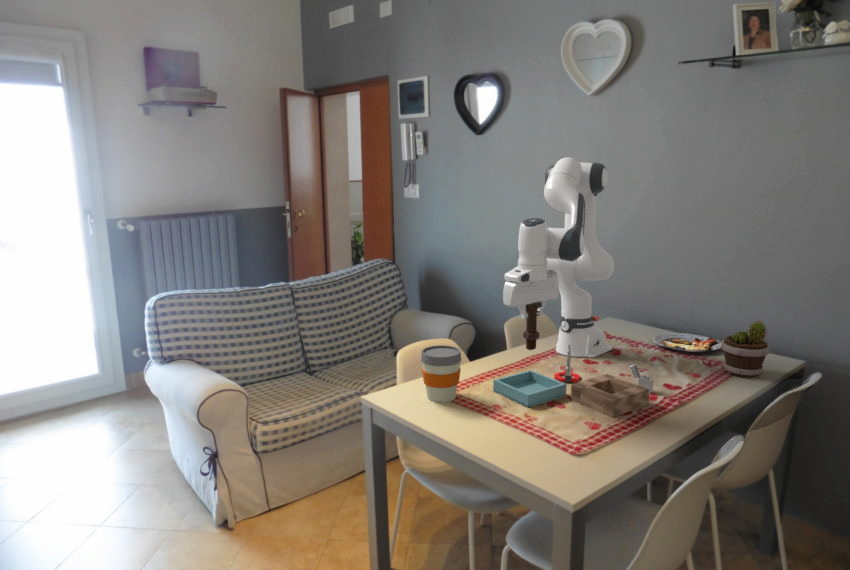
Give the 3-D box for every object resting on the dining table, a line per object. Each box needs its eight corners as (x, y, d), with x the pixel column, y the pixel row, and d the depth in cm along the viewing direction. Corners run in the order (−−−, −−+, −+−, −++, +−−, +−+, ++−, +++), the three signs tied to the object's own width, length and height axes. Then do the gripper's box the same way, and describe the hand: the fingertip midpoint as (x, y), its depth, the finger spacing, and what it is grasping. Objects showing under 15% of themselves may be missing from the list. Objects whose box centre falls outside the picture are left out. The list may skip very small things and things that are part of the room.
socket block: (606, 388, 195) (606, 374, 194) (648, 404, 182) (649, 388, 181) (570, 399, 186) (571, 384, 185) (612, 417, 173) (613, 401, 172)
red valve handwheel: (553, 374, 210) (555, 382, 201) (554, 338, 208) (556, 344, 199) (578, 375, 209) (581, 384, 200) (579, 339, 207) (582, 345, 198)
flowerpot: (711, 373, 207) (716, 317, 203) (728, 363, 218) (733, 308, 214) (758, 384, 197) (764, 324, 193) (773, 372, 207) (779, 315, 203)
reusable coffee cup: (468, 393, 192) (468, 348, 189) (449, 407, 182) (449, 359, 179) (434, 387, 199) (433, 343, 196) (413, 400, 188) (413, 353, 185)
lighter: (652, 392, 192) (654, 367, 190) (650, 393, 191) (651, 369, 189) (630, 386, 196) (632, 363, 195) (628, 388, 195) (629, 364, 194)
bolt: (543, 350, 187) (544, 302, 184) (530, 352, 185) (531, 304, 182) (531, 345, 192) (532, 299, 189) (518, 347, 190) (519, 301, 187)
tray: (530, 381, 202) (530, 369, 202) (565, 396, 189) (566, 384, 189) (493, 391, 194) (493, 379, 193) (527, 407, 181) (528, 395, 180)
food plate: (732, 346, 237) (733, 337, 236) (708, 360, 221) (708, 351, 221) (670, 335, 255) (670, 327, 254) (643, 348, 239) (643, 339, 239)
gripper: (549, 267, 192) (548, 310, 195) (500, 275, 181) (499, 319, 184) (564, 270, 187) (563, 313, 190) (514, 278, 176) (513, 324, 179)
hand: (531, 317), depth 187 cm, fingers closed on bolt, 5 cm apart
